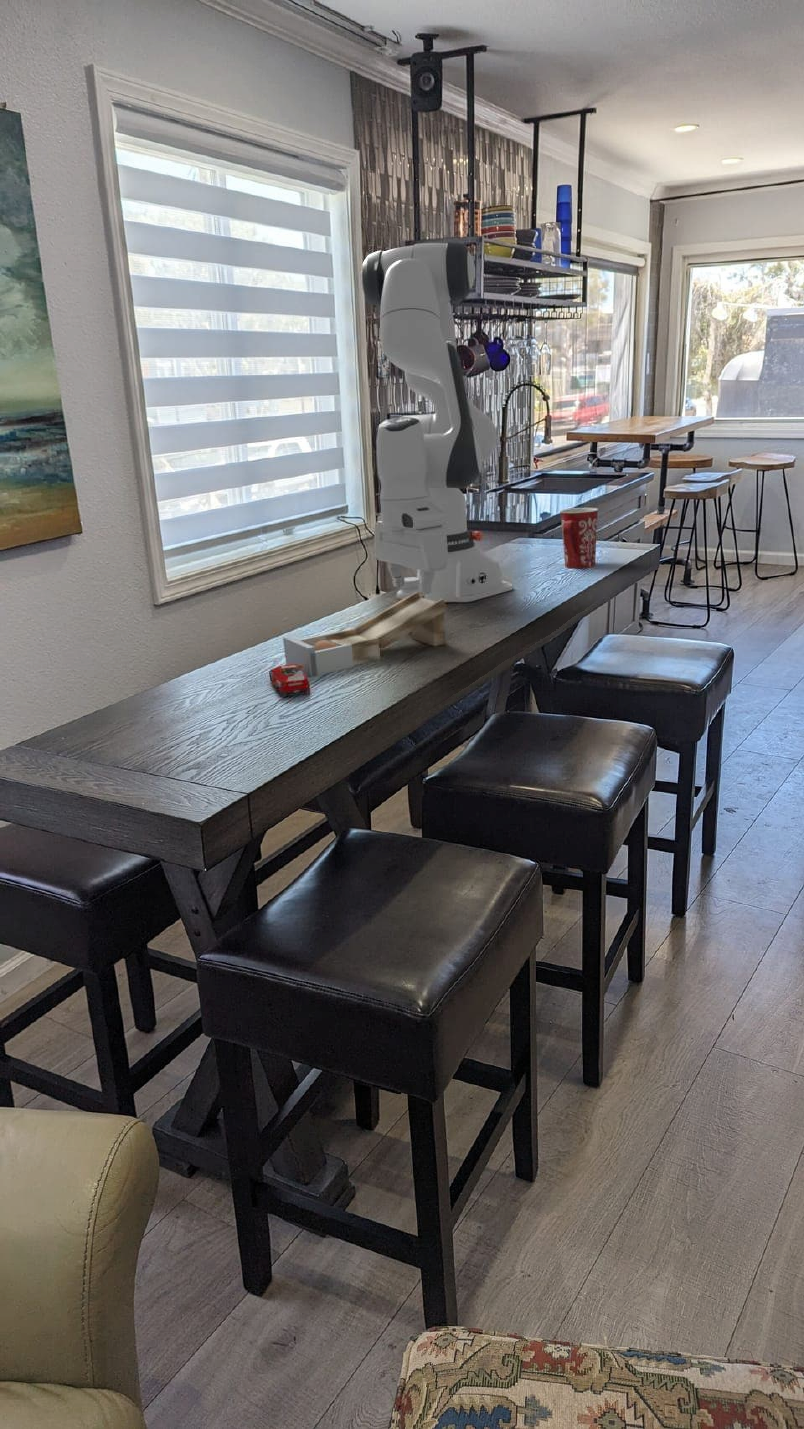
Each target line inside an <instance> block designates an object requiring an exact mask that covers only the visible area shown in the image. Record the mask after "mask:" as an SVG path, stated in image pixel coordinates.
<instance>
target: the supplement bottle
mask: <svg viewBox="0 0 804 1429" xmlns="http://www.w3.org/2000/svg"><path fill="white" fill-rule="evenodd" d="M404 582H405V585H404V586H403V587H399V588H400V589H399V590H398V591H397V592H396V601H397V602H399V601H401V600H402V599H404V598H406V597H408V596H409V595H411V594H413V593H414V592H418V593H419V584H420V579H419V578H417V576H416V577H414V576H413V577H412V576H411V577H409V576H408V577H404ZM419 595H420V597H421V598H425V596H424V594H421V593H419ZM397 602H396V603H397Z"/></svg>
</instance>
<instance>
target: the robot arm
mask: <svg viewBox="0 0 804 1429" xmlns="http://www.w3.org/2000/svg"><path fill="white" fill-rule="evenodd" d="M360 272H361V273H360V285H361V290H362V291H363V292H362V293H363V294H364V298H365V299H366V302H367V303H368V304H369V305H370V306H372V307H373V308H375V309H378V310H379V309H380V311H379V314H380V315H379V318H380V319H379V329H380V330H379V331H380V342H381V349H382V352H383V353H384V356H385V357H386V358H387V360H389V362H391V364H393V366H395V367H397V368H398V369H399V370H401V371H403V372H404V381H405V383H406V385H407V387H408V389H410V390H411V391H412V392H413V393H415V394H417V395H418V396H421V397H423V398H425V399H427V400H428V401H430V402H431V404H432V406H434V411H435V412H434V413H428V414H426V413H425V414H415V415H414V414H412V415H411V414H410V415H402V416H400V417H394V418H390V419H385V420H384V421H382V422H381V423H380V424H379V425H378V428H377V434H376V453H375V465H376V476H377V478H378V479H379V480H380V485H381V486H380V493H379V494H380V495H379V500H380V502H379V503H380V512H379V514H378V516H377V517H376V519H377V521H376V523H375V524H374V528H373V530H374V531H373V532H374V533H373V534H374V536H373V537H374V539H373V541H374V542H373V543H374V545H373V546H374V555H375V557H376V559H377V560H378V561H380V562H385V563H387V569H388V572H389V574H390V577H391V581H392V586H393V587H395V588H400V587H403V586H404V585H405V582H404V578H405V576H403V574H402V570H401V567H406V568H410V569H415V570H417V573H416V577H417V578H419V579H420V584H419V593H421V594H424V596H425V599H428V600H432V601H435V602H436V601H437V600H439V599H441V598H442V599H444V602H445V603H469V602H474V601H477V600H480V599H483V598H488V597H491V596H495V595H498V594H501V593H505V592H509V591H512V590H514V588H513V586H514V585H513V584H512V583H511V582H509V581H507V580H503V575H502V570H501V566H500V565H499V563H498V561H497V560H496V559H494V558H493V557H491V556H489V555H488V554H487V553H485V551H483V550H481V549H480V548H478V547H477V546H476V544H475V542H474V541H477V542H480V541H481V542H482V541H483V539H484V533H483V532H482V531H478V530H475V531H471V530H470V529H468V526H467V525H468V524H467V505H466V504H467V503H466V498H465V496H464V493H463V492H462V490H460V489H467V488H468V487H470V486H471V485H472V484H474V483H475V481H476V480H478V478H479V477H480V476H481V474H482V468H483V462H485V461H488V460H489V458H490V457H491V456H492V455H493V453H494V451H495V449H496V445H497V441H498V435H497V434H498V433H497V429H496V426H495V423H494V422H493V420H492V419H491V418H490V416H488V415H487V414H486V413H485V412H484V411H482V410H480V409H479V408H478V407H477V406H476V405H474V403H473V402H472V400H470V398H469V397H468V391H467V390H468V389H467V385H466V381H465V376H464V372H463V371H464V370H463V367H462V362H461V359H460V356H459V353H458V351H457V337H456V336H457V334H456V328H455V321H454V314H453V310H452V306H453V307H454V309H457V308H459V305H460V304H459V303H460V302H462V301H464V300H466V299H467V298H468V296H469V295H470V294H471V292H472V290H473V285H474V282H475V277H476V265H475V262H474V259H473V256H472V254H471V251H470V249H469V248H468V246H467V245H466V244H465V243H462V242H459V241H448V242H446V243H445V242H444V243H443V242H423V243H415V244H414V245H405V246H402V247H401V246H400V247H396V248H392V249H388V250H386V251H384V250H383V249H381V250H377V251H375V252H372V253H370V254H368V255H367V256H366V258H365V259H364V261H363V263H362V267H361V271H360ZM451 303H452V305H451Z"/></svg>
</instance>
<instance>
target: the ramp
mask: <svg viewBox="0 0 804 1429" xmlns="http://www.w3.org/2000/svg"><path fill="white" fill-rule="evenodd" d="M447 610H448V608H447V605H446V602H444V599H442V598H441V599H439V600H437V601H436V602H435V601H432V600H428V599H425V598H421V597H420V595H419V593H418V592H414V593H413V594H411V595H409V596H408V597H406V598H404V599H402V600H401V601H399V602H396V603H394V604H392V605H391V606H389V607H387V608H385V609H384V610H382V611H380V612H379V613H377V614H375V615H374V616H372V617H371V618H369V619H367V620H365V621H364V622H362V623H360V624H359V625H357V626H355V627H354V628H350V629H345V630H340V631H336V632H331V633H325V634H326V640H327V641H330V642H332V643H333V644H334V645H335V647H337V646H342V645H346V644H351V645H352V655H353V665H354V666H357V665H362V664H365V663H366V664H367V663H372V662H374V660H375V661H378V659H380V660H381V650H383V649H384V648H386V647H388V646H390V645H391V644H393V643H396V642H397V641H398V640H400V639H401V638H403V637H405V636H406V635H409V633H411V638H412V639H413V638H414V639H413V640H415V641H416V640H417V641H418V642H419V641H420V642H421V643H426V644H427V643H428V644H427V645H430V646H434V647H437V646H440V645H441V646H442V645H445V643H446V628H445V626H446V625H445V614H444V612H446V611H447ZM446 644H447V643H446ZM380 649H381V650H380Z"/></svg>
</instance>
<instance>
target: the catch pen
mask: <svg viewBox="0 0 804 1429" xmlns="http://www.w3.org/2000/svg"><path fill="white" fill-rule="evenodd" d="M326 634H327V633H324V634H319V635H313V636H310V637H305V638H299V639H297V638H294V637H293V636H290V635H289V636H288V635H287V636H282V640H283V642H282V643H283V650H284V657H285V665H289V664H297V665H299V666H301V665H302V666H303V667H302V668H301V670H302V671H303V673H304V674H305V675H306V676H307V677H308V676H309V677H310V678H312V677H316V676H321V675H324V674H329V673H333V672H334V673H335V672H337V671H338V672H339V671H343V670H346V669H352V668H354V667H355V665H353V655H352V645H351V644H346V645H342V646H337V647H333V648H328V649H324V650H319V651H315V648H314V645H315V644H316V643H317V642H319V641H322V640H326Z"/></svg>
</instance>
